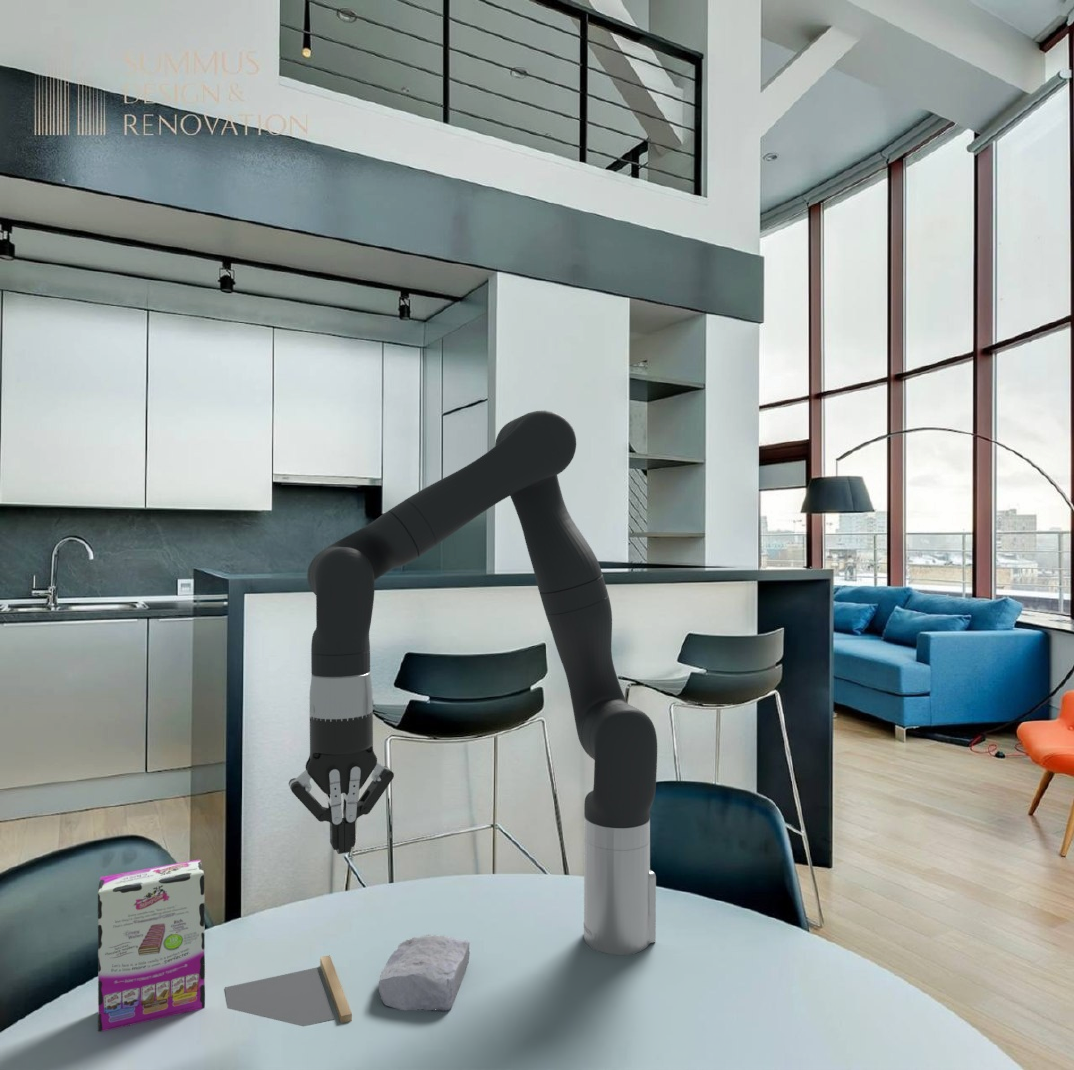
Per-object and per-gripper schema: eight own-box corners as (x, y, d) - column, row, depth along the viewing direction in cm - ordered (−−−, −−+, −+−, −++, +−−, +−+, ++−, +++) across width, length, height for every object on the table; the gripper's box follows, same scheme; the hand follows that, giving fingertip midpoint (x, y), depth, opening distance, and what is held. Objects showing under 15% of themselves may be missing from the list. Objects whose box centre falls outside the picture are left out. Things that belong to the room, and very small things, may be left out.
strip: (329, 964, 103) (329, 955, 103) (351, 1024, 91) (351, 1013, 91) (320, 966, 103) (320, 957, 103) (341, 1026, 90) (341, 1016, 90)
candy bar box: (201, 991, 97) (202, 856, 97) (205, 1012, 93) (206, 872, 93) (97, 1015, 92) (98, 874, 92) (96, 1040, 88) (97, 891, 88)
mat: (316, 971, 102) (316, 967, 102) (334, 1023, 91) (334, 1018, 91) (224, 991, 97) (224, 987, 97) (231, 1048, 86) (231, 1043, 86)
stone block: (375, 1023, 93) (457, 1013, 92) (368, 982, 93) (450, 971, 92) (402, 972, 105) (475, 962, 104) (396, 935, 105) (469, 925, 104)
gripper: (387, 699, 103) (388, 832, 103) (281, 709, 98) (282, 849, 98) (402, 710, 97) (403, 852, 96) (289, 721, 91) (290, 872, 91)
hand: (342, 850), depth 97 cm, fingers closed
